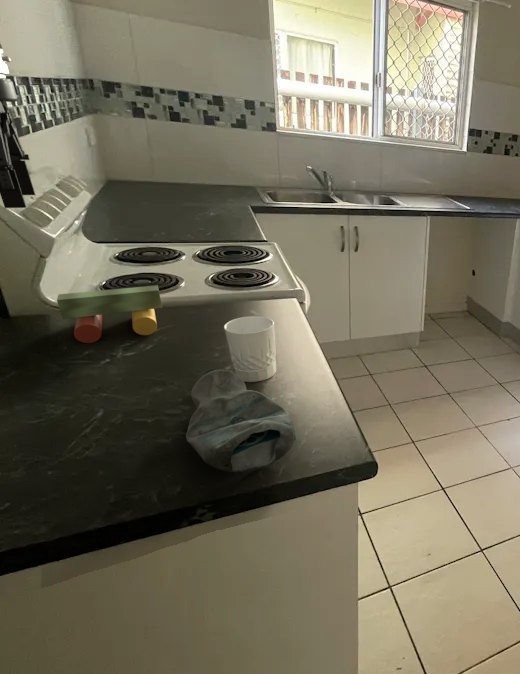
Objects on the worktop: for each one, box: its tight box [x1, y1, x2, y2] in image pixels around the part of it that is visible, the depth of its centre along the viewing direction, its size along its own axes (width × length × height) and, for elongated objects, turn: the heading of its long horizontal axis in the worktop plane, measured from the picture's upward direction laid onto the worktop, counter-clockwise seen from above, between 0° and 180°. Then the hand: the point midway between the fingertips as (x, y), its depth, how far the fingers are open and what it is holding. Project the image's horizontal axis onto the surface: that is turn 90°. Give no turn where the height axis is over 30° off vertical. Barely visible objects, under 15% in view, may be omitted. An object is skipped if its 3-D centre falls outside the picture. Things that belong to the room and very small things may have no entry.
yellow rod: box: [131, 309, 158, 336], centre depth 101 cm, size 12×4×4 cm, turn 37°
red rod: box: [73, 315, 103, 344], centre depth 96 cm, size 12×4×4 cm, turn 37°
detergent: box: [185, 368, 297, 473], centre depth 71 cm, size 13×7×25 cm
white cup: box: [223, 315, 277, 383], centre depth 86 cm, size 8×8×10 cm
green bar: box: [56, 284, 163, 320], centre depth 97 cm, size 16×4×4 cm, turn 126°
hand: (21, 201), depth 90 cm, fingers open, 13 cm apart
